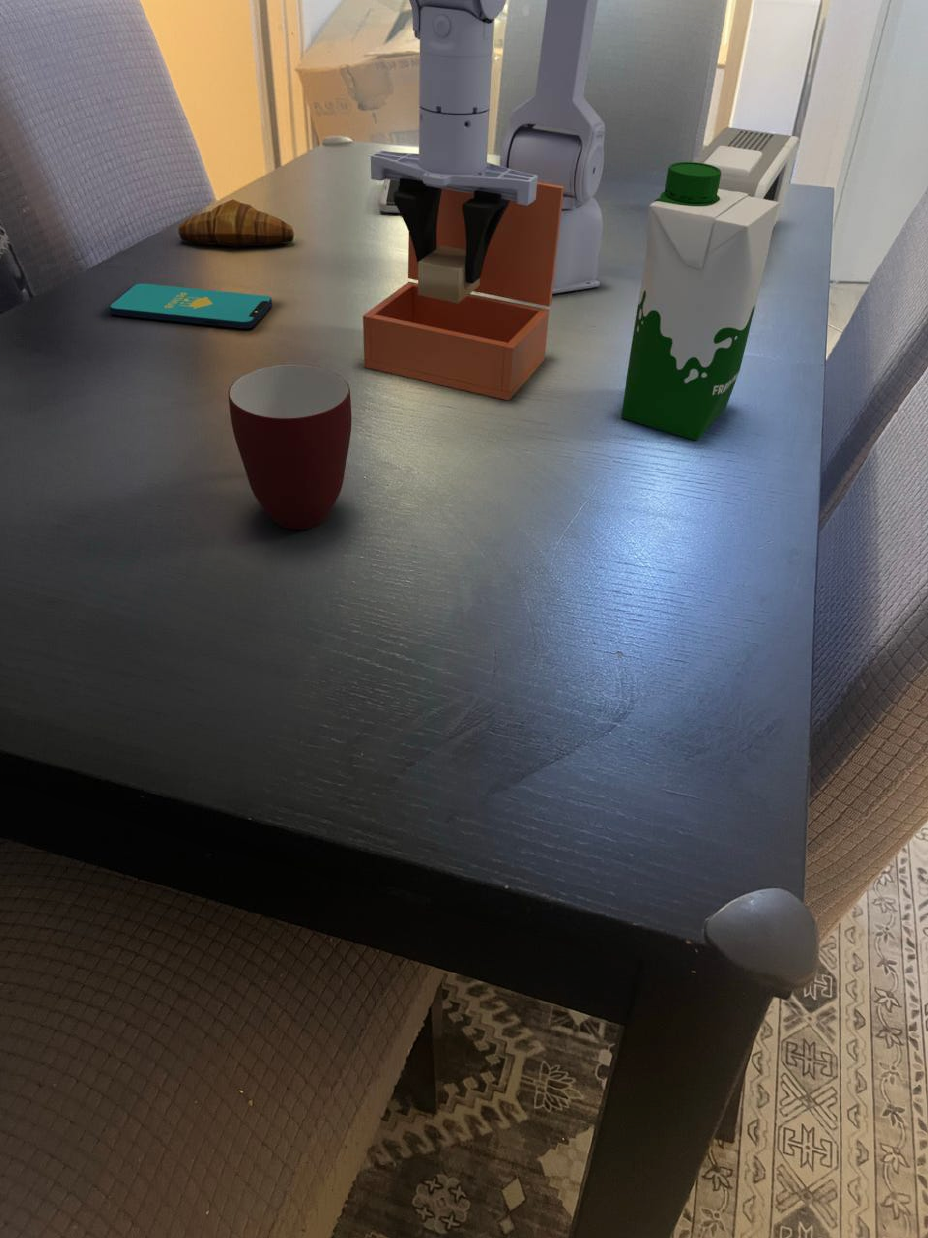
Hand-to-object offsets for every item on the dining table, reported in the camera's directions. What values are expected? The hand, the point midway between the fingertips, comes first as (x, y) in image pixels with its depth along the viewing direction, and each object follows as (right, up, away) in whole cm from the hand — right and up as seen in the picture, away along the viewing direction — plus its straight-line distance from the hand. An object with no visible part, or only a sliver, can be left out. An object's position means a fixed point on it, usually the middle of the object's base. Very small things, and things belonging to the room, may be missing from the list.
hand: (449, 274), depth 86 cm
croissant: (-26, +14, +28) cm, 41 cm away
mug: (-11, -23, -15) cm, 29 cm away
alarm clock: (+34, +16, +34) cm, 50 cm away
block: (0, -1, +1) cm, 1 cm away
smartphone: (-27, +1, +12) cm, 29 cm away
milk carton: (+20, -13, -1) cm, 24 cm away
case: (+1, -7, +5) cm, 8 cm away
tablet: (+4, +25, +44) cm, 51 cm away
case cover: (+3, +4, +2) cm, 5 cm away
